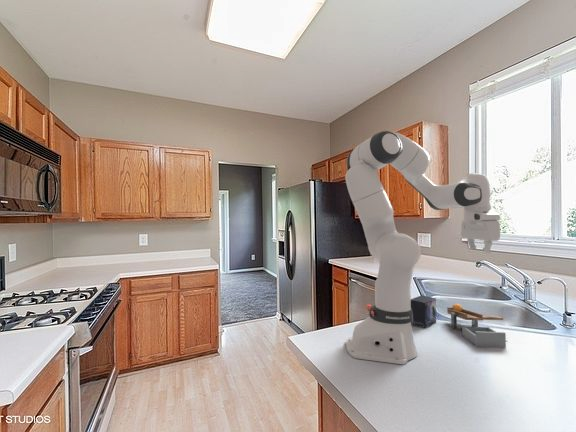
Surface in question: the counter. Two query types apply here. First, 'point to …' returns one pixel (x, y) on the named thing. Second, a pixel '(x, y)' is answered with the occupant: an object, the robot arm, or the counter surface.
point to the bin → (484, 337)
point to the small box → (423, 311)
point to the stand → (459, 327)
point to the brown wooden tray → (472, 315)
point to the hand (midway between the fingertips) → (479, 251)
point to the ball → (457, 307)
